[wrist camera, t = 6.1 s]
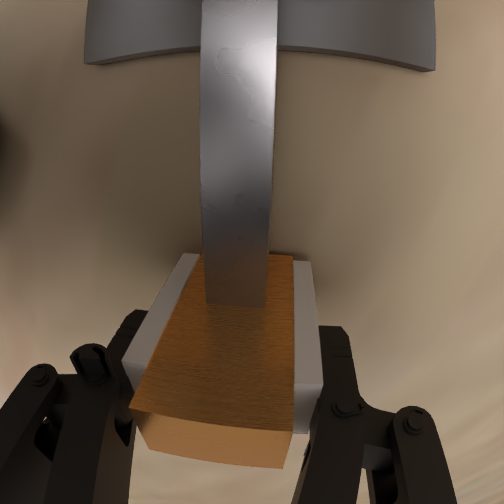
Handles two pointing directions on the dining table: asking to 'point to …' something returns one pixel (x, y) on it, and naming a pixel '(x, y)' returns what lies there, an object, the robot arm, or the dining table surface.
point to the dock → (289, 36)
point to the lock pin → (230, 268)
